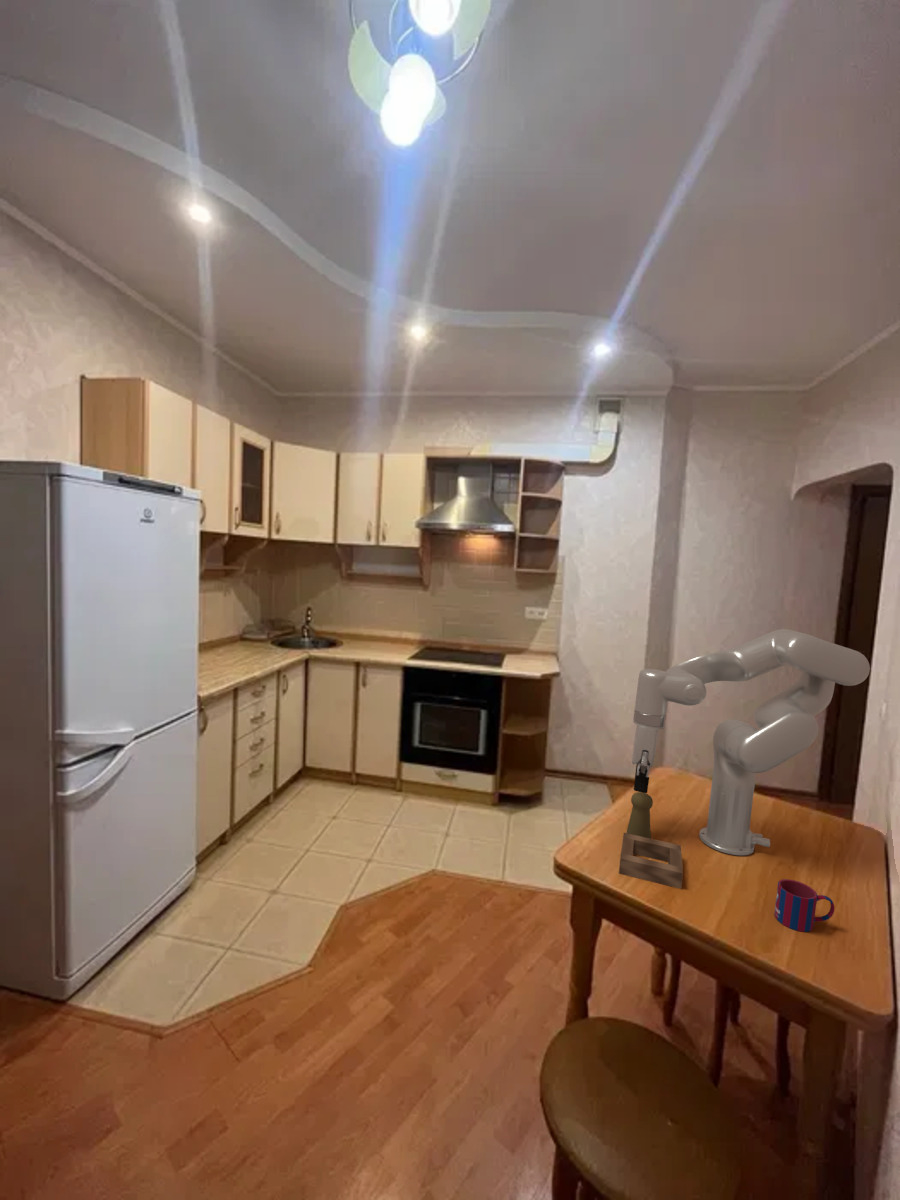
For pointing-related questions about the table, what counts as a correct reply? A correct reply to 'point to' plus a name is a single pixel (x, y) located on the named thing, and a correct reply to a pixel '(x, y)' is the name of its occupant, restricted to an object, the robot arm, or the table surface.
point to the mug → (798, 905)
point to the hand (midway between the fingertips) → (640, 784)
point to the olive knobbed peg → (640, 815)
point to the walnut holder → (648, 868)
